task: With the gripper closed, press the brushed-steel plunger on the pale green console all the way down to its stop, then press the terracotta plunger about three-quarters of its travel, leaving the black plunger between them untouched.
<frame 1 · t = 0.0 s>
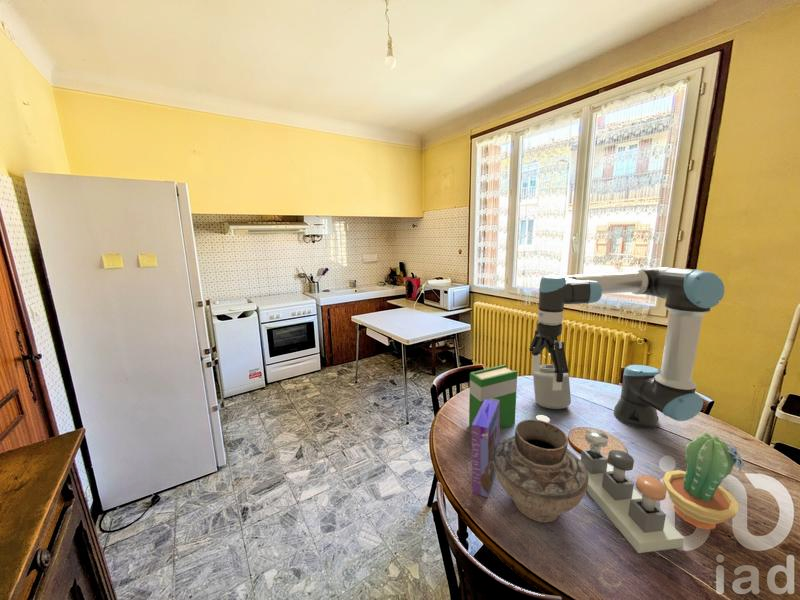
hand: (545, 380, 110), 28 cm above the table, tool pointing down, fingers open, 13 cm apart
supplement bottle: (540, 450, 116), on the table
terracotta plunger: (649, 495, 81), point 12 cm above the table, slide at 0.0 cm
middle plunger: (619, 467, 91), point 12 cm above the table, slide at 0.0 cm
cereal box: (486, 476, 104), on the table
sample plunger: (595, 444, 101), point 12 cm above the table, slide at 0.0 cm
jar: (548, 404, 146), on the table
console: (615, 500, 93), on the table
potted cactus: (694, 515, 88), on the table
ceramic pot: (535, 504, 93), on the table
hardback book: (491, 425, 132), on the table
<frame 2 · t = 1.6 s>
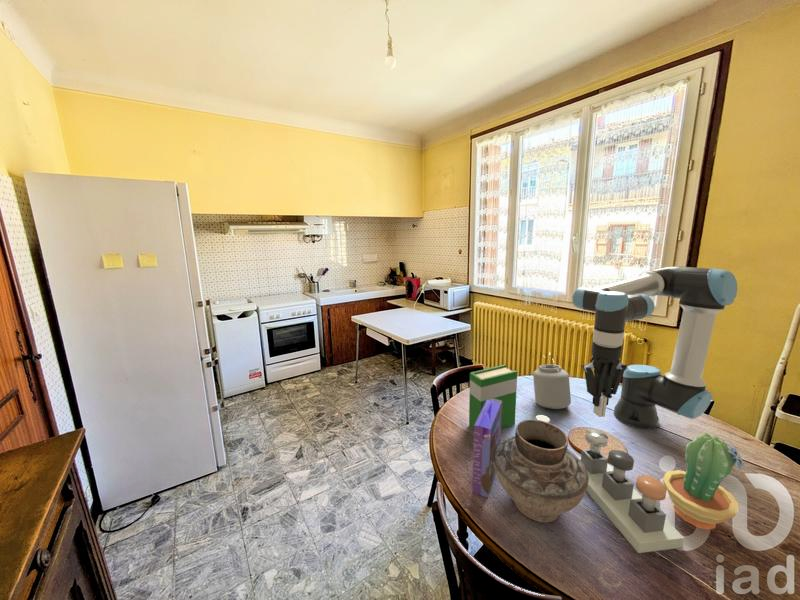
hand: (599, 414, 98), 22 cm above the table, tool pointing down, fingers closed
nothing on the table moved.
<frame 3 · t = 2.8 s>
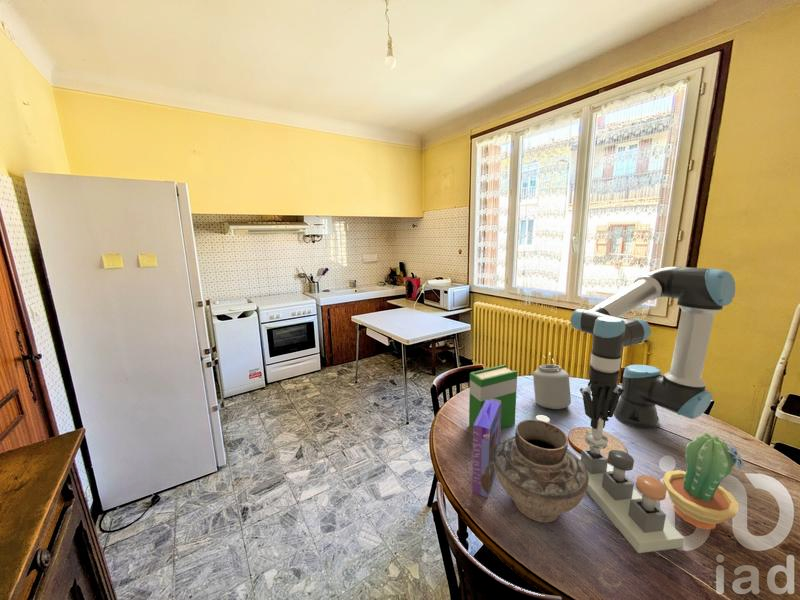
hand: (596, 436, 100), 15 cm above the table, tool pointing down, fingers closed
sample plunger: (595, 446, 101), point 11 cm above the table, slide at 0.7 cm, touching gripper
everything else where it was.
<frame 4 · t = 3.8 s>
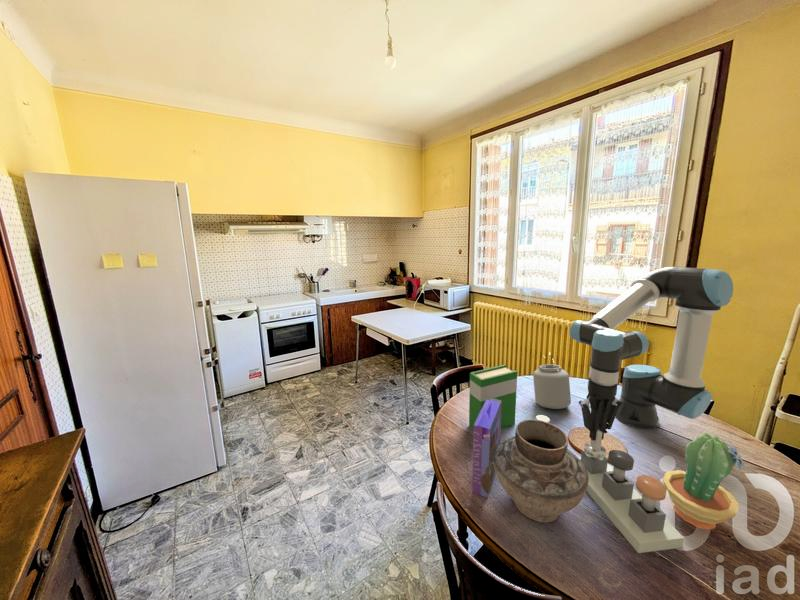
hand: (595, 447, 101), 10 cm above the table, tool pointing down, fingers closed
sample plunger: (594, 457, 102), point 7 cm above the table, slide at 4.9 cm, touching gripper
everything else where it was.
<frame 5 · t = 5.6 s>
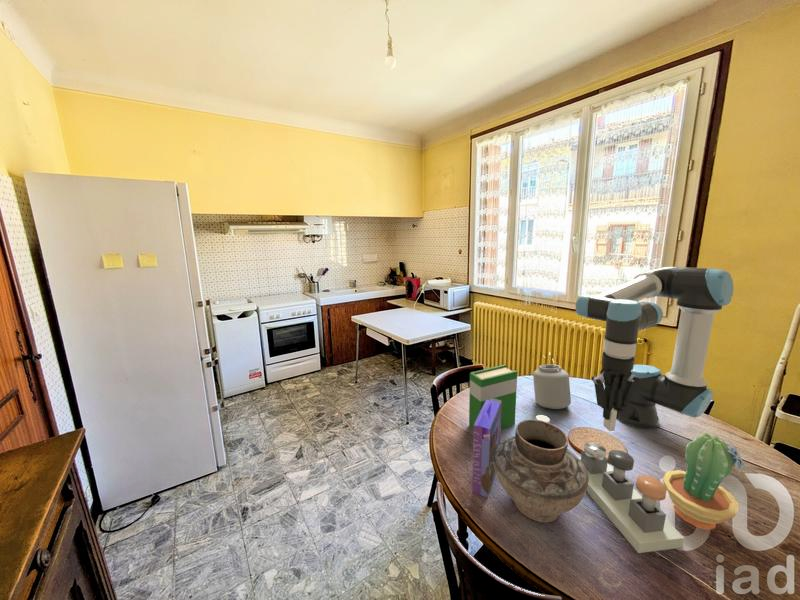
hand: (608, 428, 94), 21 cm above the table, tool pointing down, fingers closed
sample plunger: (594, 457, 102), point 7 cm above the table, slide at 4.8 cm
everything else where it was.
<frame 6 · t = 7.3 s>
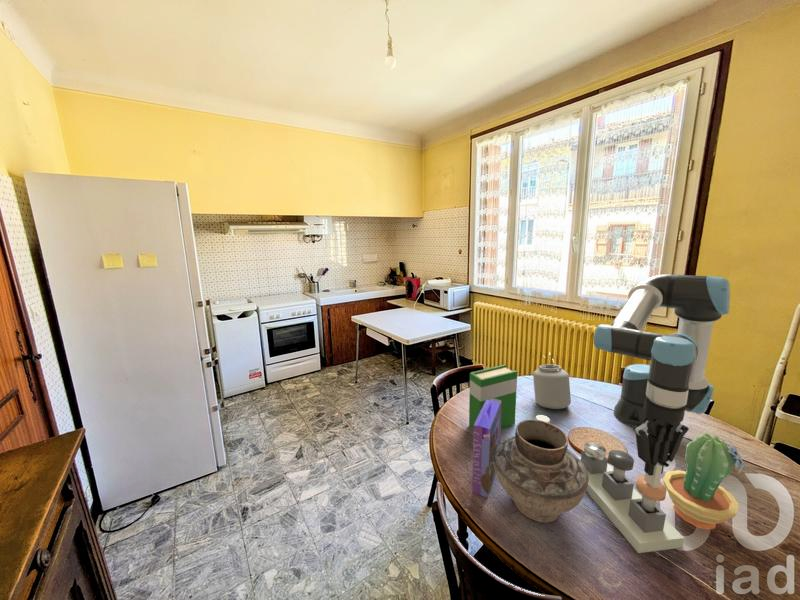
hand: (651, 484, 80), 15 cm above the table, tool pointing down, fingers closed
terracotta plunger: (649, 496, 81), point 11 cm above the table, slide at 0.2 cm, touching gripper
everything else where it was.
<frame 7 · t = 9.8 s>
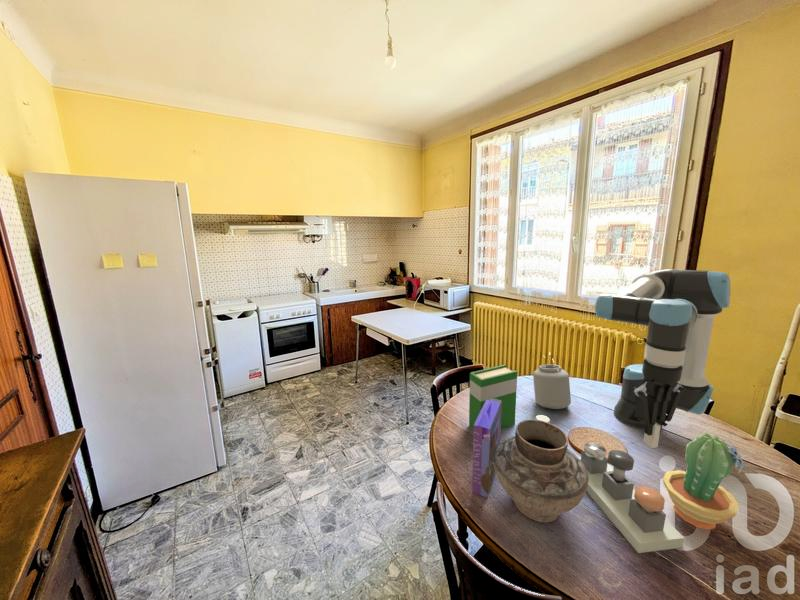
hand: (650, 444, 83), 23 cm above the table, tool pointing down, fingers closed
terracotta plunger: (647, 506, 82), point 8 cm above the table, slide at 3.3 cm
everything else where it was.
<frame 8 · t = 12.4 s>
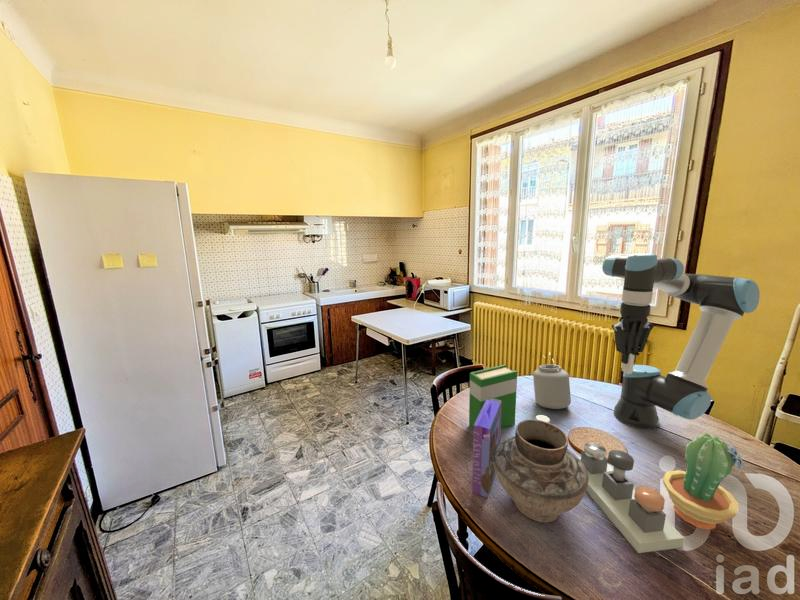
hand: (626, 372, 104), 32 cm above the table, tool pointing down, fingers closed
nothing on the table moved.
at the end: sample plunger slide at 4.8 cm; terracotta plunger slide at 3.3 cm; middle plunger slide at 0.0 cm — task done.
